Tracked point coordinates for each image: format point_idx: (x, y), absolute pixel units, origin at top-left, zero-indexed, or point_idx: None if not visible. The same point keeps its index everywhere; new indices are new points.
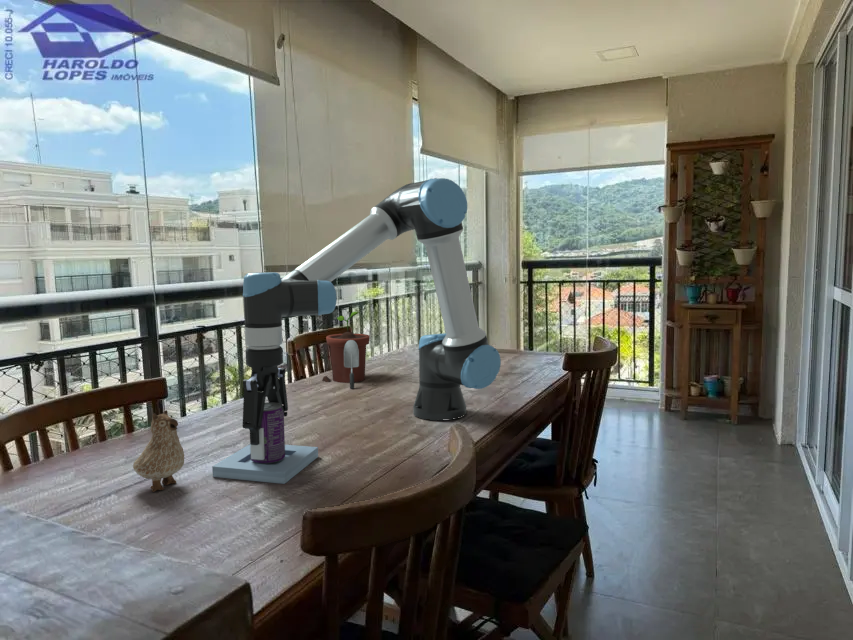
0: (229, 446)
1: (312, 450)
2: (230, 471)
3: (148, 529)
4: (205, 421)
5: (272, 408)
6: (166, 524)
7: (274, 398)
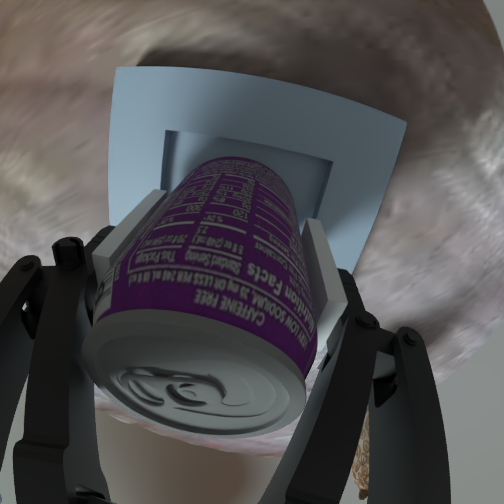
0: None
1: (153, 71)
2: None
3: (496, 310)
4: None
5: (270, 365)
6: (495, 297)
7: (77, 392)
